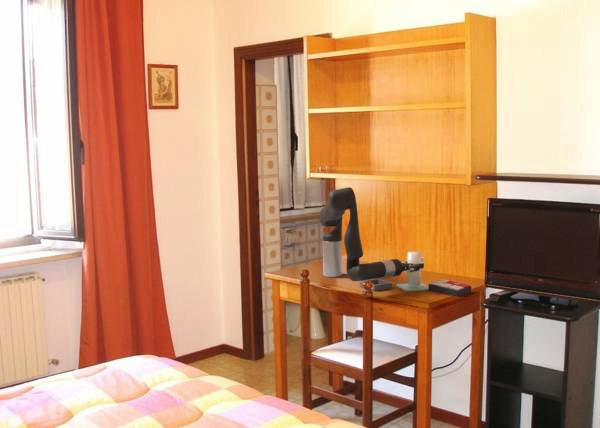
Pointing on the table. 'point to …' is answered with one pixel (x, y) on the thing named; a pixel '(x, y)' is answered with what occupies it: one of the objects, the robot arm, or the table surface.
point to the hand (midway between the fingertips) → (418, 264)
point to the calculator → (449, 288)
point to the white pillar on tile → (415, 277)
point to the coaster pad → (413, 287)
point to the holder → (379, 284)
